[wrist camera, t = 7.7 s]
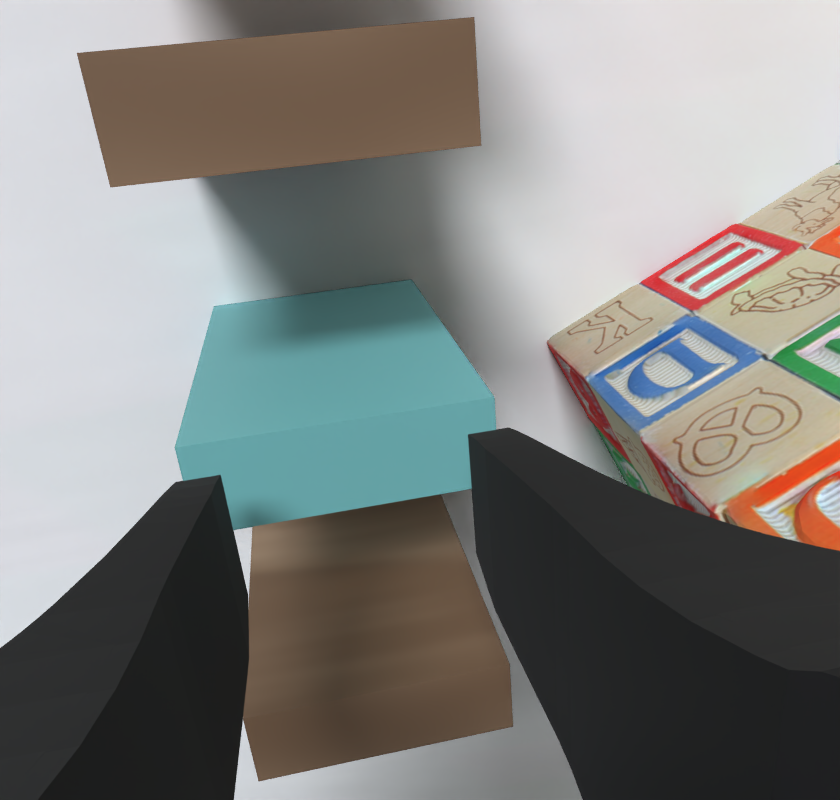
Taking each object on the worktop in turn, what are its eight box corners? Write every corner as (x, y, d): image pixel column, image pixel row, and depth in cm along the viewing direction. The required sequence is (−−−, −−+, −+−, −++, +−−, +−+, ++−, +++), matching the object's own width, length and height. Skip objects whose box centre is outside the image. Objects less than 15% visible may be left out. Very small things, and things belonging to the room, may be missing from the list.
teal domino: (416, 338, 20) (499, 483, 13) (226, 366, 19) (196, 536, 12) (411, 279, 19) (494, 397, 12) (213, 306, 19) (174, 447, 11)
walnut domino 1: (396, 120, 18) (481, 145, 10) (180, 143, 17) (110, 187, 10) (389, 45, 17) (474, 16, 10) (164, 66, 16) (76, 52, 9)
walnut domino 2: (434, 515, 22) (512, 726, 15) (263, 545, 21) (258, 781, 14) (429, 468, 21) (509, 664, 14) (253, 497, 21) (243, 718, 14)
